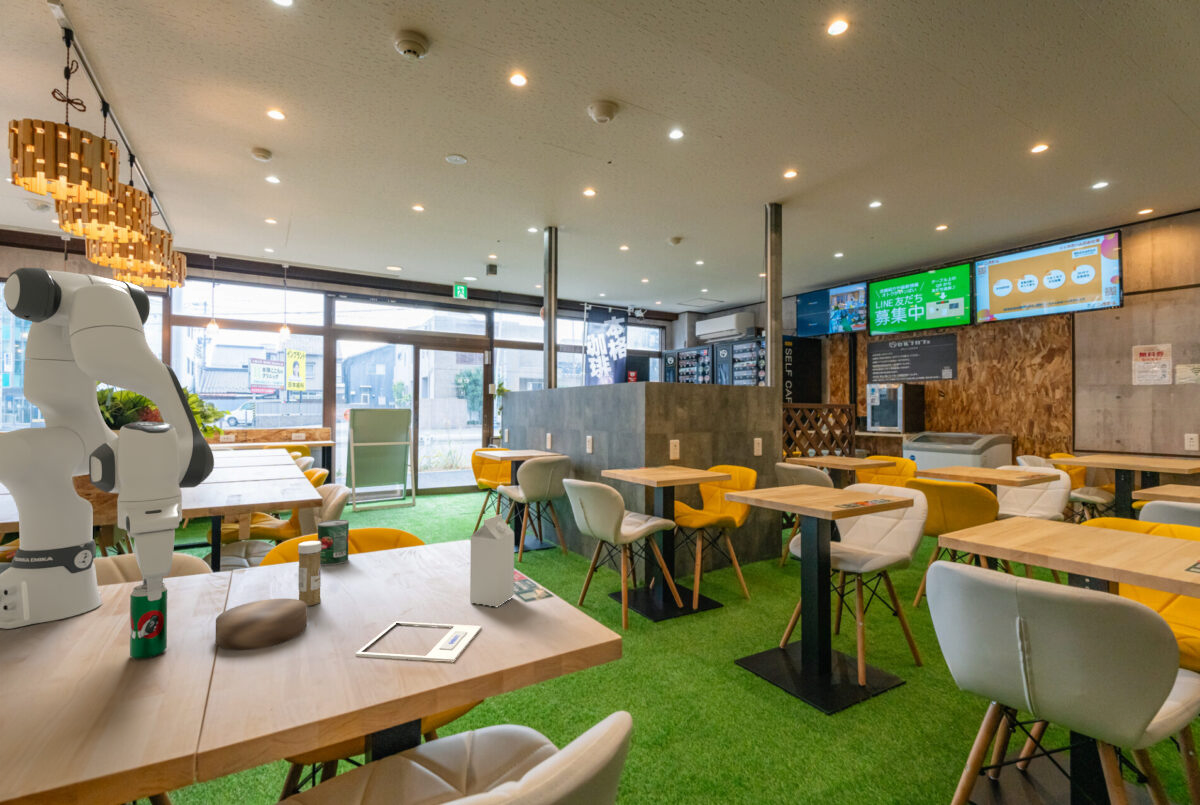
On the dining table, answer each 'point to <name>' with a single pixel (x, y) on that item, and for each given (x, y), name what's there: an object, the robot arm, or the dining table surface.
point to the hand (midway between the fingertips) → (151, 592)
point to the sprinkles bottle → (309, 572)
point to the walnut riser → (261, 624)
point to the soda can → (147, 624)
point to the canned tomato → (333, 541)
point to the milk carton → (492, 563)
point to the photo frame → (442, 651)
